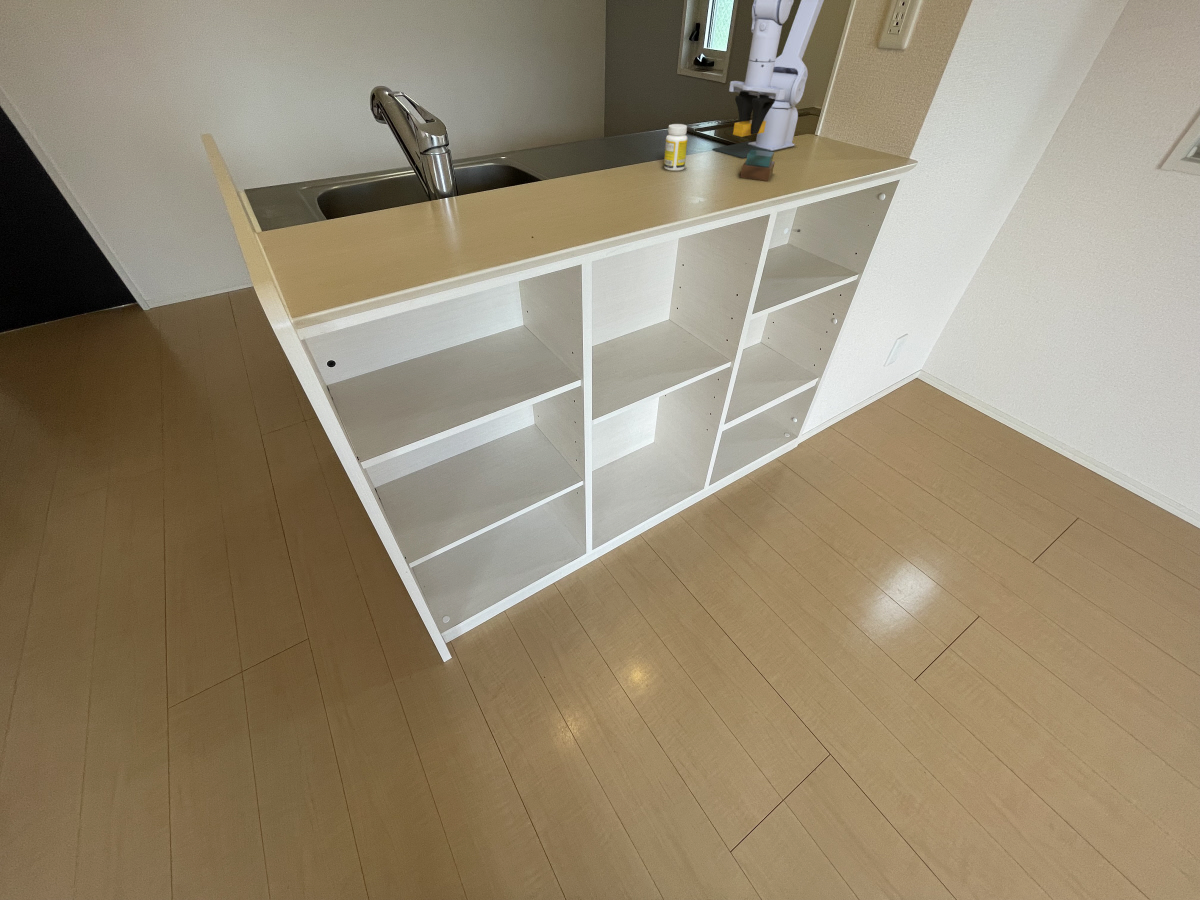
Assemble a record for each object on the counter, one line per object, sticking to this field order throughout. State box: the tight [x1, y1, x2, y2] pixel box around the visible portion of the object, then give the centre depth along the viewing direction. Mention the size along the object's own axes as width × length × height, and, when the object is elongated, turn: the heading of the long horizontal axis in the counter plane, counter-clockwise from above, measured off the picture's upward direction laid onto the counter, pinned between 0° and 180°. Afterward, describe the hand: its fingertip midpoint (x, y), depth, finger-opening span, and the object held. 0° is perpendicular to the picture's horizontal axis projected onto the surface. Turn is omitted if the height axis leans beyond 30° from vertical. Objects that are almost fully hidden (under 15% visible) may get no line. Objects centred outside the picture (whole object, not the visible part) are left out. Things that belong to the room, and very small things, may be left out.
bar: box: [732, 119, 766, 138], centre depth 120 cm, size 8×3×2 cm, turn 127°
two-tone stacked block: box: [740, 150, 775, 182], centre depth 111 cm, size 6×6×4 cm
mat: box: [712, 140, 780, 159], centre depth 129 cm, size 14×10×1 cm
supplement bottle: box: [663, 123, 688, 172], centre depth 113 cm, size 5×5×8 cm
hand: (748, 132), depth 120 cm, fingers closed on bar, 3 cm apart
